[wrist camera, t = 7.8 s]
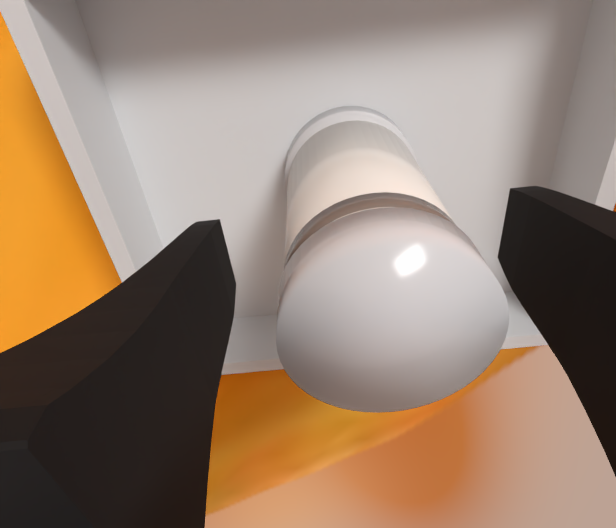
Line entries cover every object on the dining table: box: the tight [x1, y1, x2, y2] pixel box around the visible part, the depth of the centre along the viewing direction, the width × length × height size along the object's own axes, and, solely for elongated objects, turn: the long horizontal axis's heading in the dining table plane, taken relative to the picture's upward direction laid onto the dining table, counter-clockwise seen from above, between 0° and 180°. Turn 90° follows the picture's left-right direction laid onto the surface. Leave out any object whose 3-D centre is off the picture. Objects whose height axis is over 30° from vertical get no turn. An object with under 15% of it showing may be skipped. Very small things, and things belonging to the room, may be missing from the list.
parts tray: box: [0, 0, 616, 375], centre depth 14 cm, size 15×13×3 cm
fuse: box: [276, 106, 509, 412], centre depth 11 cm, size 4×4×8 cm
